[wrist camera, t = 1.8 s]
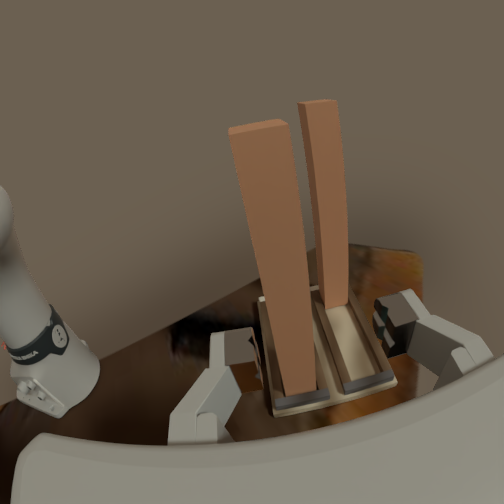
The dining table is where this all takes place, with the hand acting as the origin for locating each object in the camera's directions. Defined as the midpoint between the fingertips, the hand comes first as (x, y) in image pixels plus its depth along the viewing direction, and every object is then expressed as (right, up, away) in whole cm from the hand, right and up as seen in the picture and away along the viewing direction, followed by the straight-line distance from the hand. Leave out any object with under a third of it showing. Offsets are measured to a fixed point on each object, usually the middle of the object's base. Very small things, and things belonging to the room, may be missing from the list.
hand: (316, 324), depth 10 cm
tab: (+4, -15, +26) cm, 30 cm away
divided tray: (+8, -11, +33) cm, 36 cm away
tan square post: (+12, -5, +38) cm, 41 cm away
